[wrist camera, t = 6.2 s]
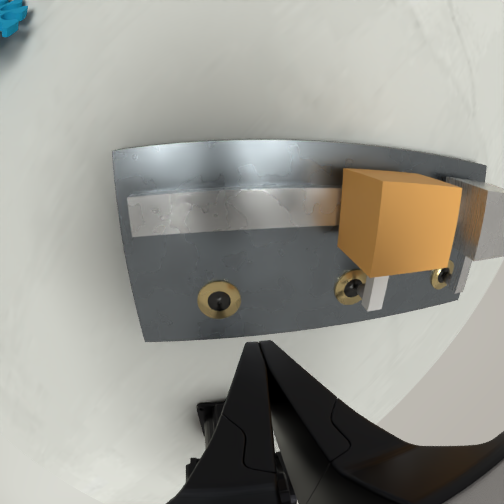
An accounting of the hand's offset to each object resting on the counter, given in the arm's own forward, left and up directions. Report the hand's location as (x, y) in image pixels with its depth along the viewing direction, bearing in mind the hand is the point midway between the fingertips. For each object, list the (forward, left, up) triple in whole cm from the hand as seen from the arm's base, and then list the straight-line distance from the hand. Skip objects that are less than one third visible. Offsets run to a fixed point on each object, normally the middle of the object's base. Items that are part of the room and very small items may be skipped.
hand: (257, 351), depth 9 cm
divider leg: (0, -10, -10) cm, 14 cm away
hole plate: (-1, -8, -12) cm, 14 cm away
